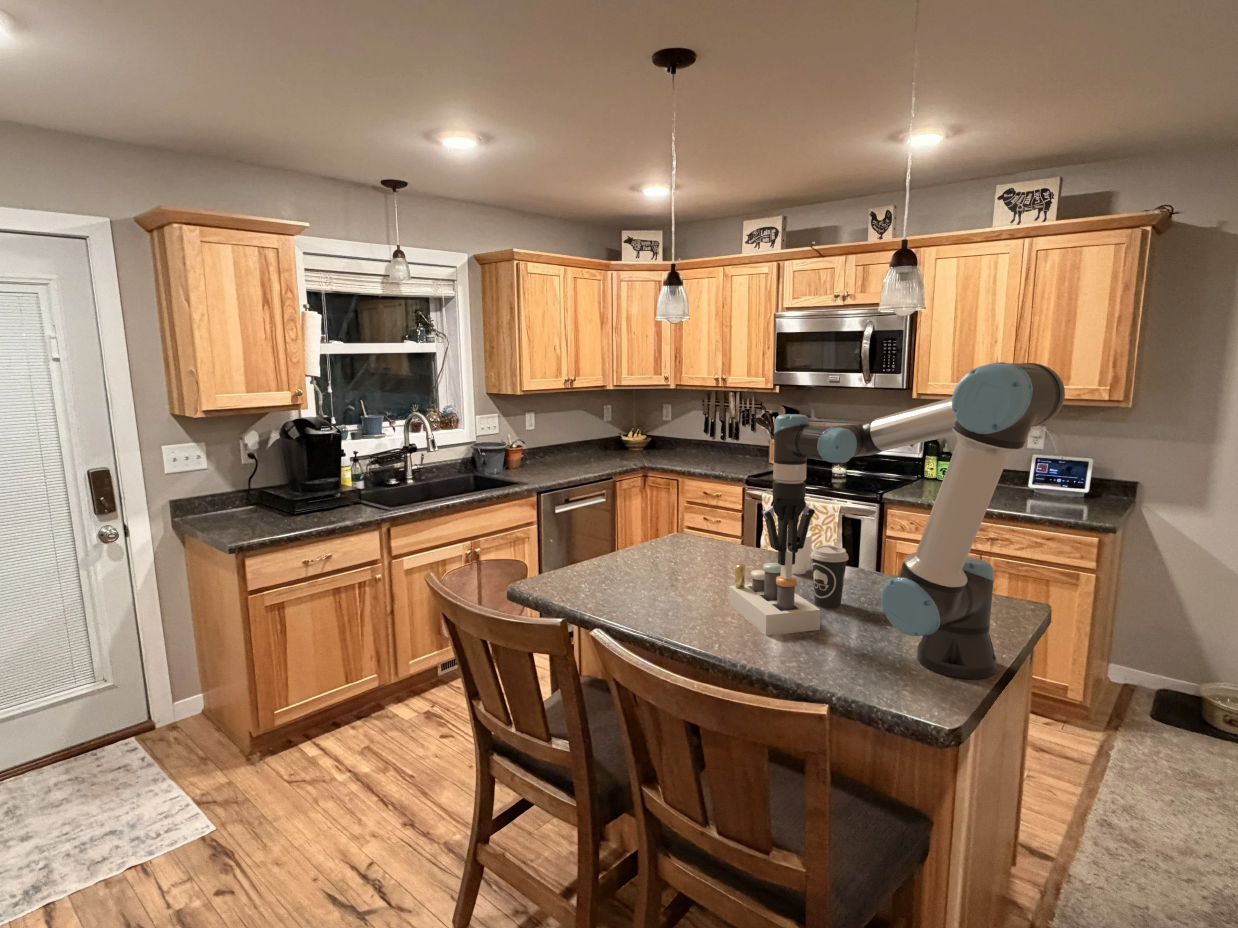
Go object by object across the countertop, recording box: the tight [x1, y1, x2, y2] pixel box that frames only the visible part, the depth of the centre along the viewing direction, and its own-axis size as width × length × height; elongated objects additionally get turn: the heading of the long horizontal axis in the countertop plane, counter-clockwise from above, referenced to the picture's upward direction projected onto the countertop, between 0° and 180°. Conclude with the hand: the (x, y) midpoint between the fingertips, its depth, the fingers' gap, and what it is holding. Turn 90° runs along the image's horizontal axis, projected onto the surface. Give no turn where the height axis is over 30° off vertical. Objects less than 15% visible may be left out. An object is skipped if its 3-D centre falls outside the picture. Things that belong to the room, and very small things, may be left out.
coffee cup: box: [810, 544, 849, 610], centre depth 181 cm, size 10×10×15 cm
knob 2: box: [762, 562, 781, 601], centre depth 172 cm, size 5×5×9 cm
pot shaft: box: [734, 563, 746, 589], centre depth 180 cm, size 2×2×6 cm
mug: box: [787, 530, 813, 575], centre depth 210 cm, size 12×9×12 cm
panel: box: [728, 583, 821, 637], centre depth 173 cm, size 22×14×5 cm, turn 14°
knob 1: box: [750, 569, 765, 592], centre depth 180 cm, size 5×5×9 cm
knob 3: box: [776, 576, 798, 611], centre depth 166 cm, size 5×5×9 cm
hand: (785, 577), depth 165 cm, fingers closed
